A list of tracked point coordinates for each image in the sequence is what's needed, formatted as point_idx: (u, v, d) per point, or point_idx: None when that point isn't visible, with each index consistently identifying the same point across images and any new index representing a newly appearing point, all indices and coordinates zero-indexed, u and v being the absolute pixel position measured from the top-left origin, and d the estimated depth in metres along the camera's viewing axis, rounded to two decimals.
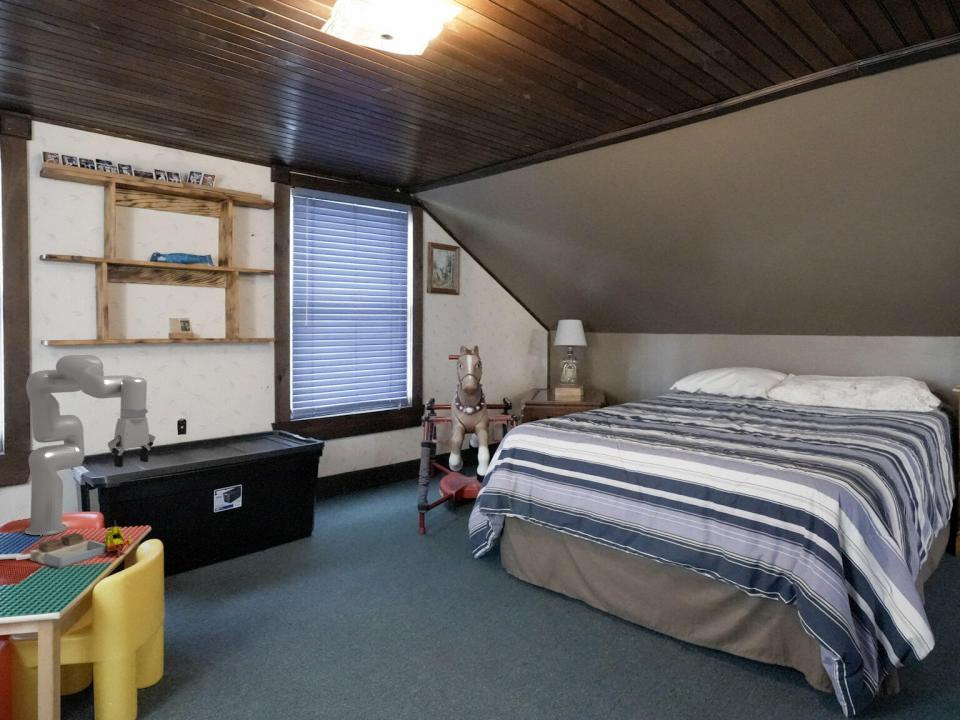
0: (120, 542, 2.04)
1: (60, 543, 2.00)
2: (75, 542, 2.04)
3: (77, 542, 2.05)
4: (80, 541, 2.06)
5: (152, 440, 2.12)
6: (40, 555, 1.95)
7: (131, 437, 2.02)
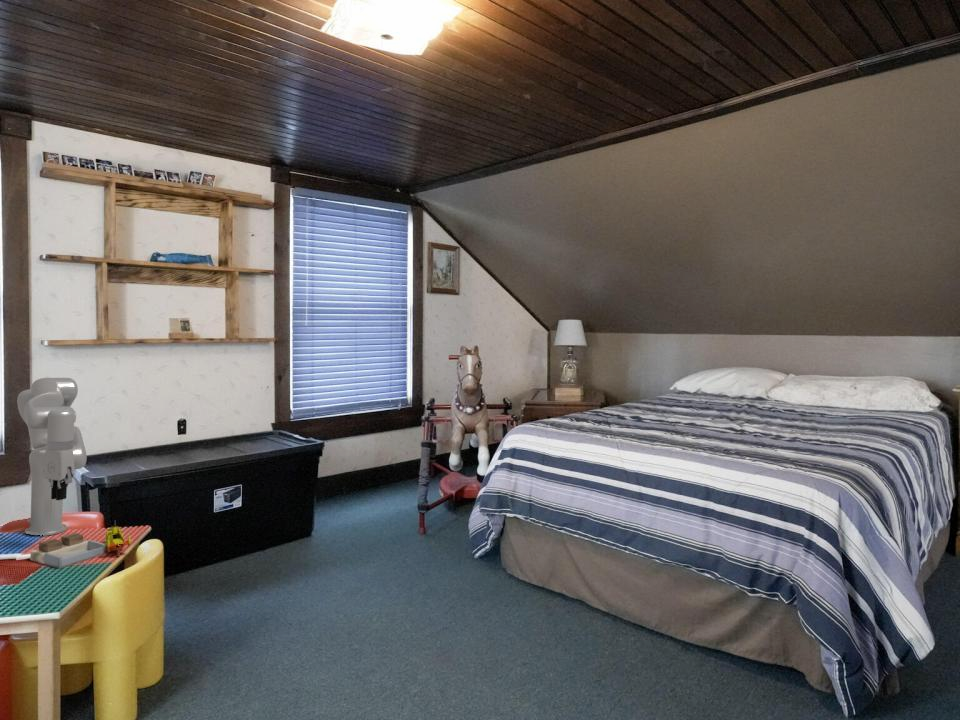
0: (120, 542, 2.04)
1: (60, 543, 2.00)
2: (75, 542, 2.04)
3: (77, 542, 2.05)
4: (80, 541, 2.06)
5: None
6: (40, 555, 1.95)
7: None
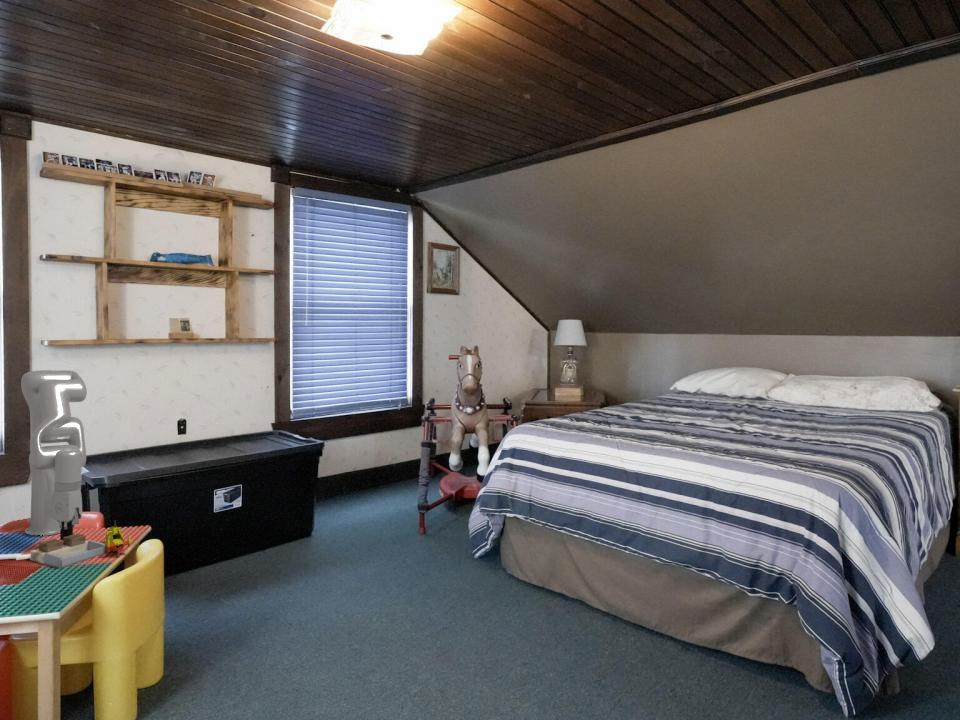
0: (120, 542, 2.04)
1: (60, 543, 2.00)
2: (77, 543, 2.04)
3: (79, 543, 2.05)
4: (82, 542, 2.05)
5: None
6: (40, 555, 1.95)
7: None
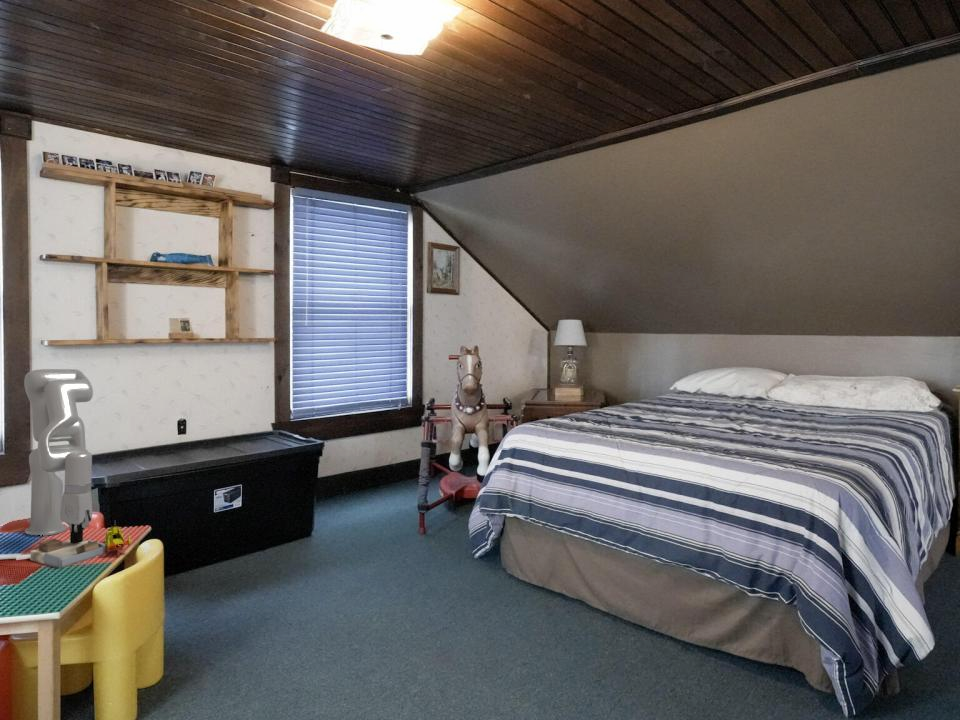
0: (120, 542, 2.04)
1: (60, 543, 2.00)
2: None
3: None
4: None
5: None
6: (40, 555, 1.95)
7: None
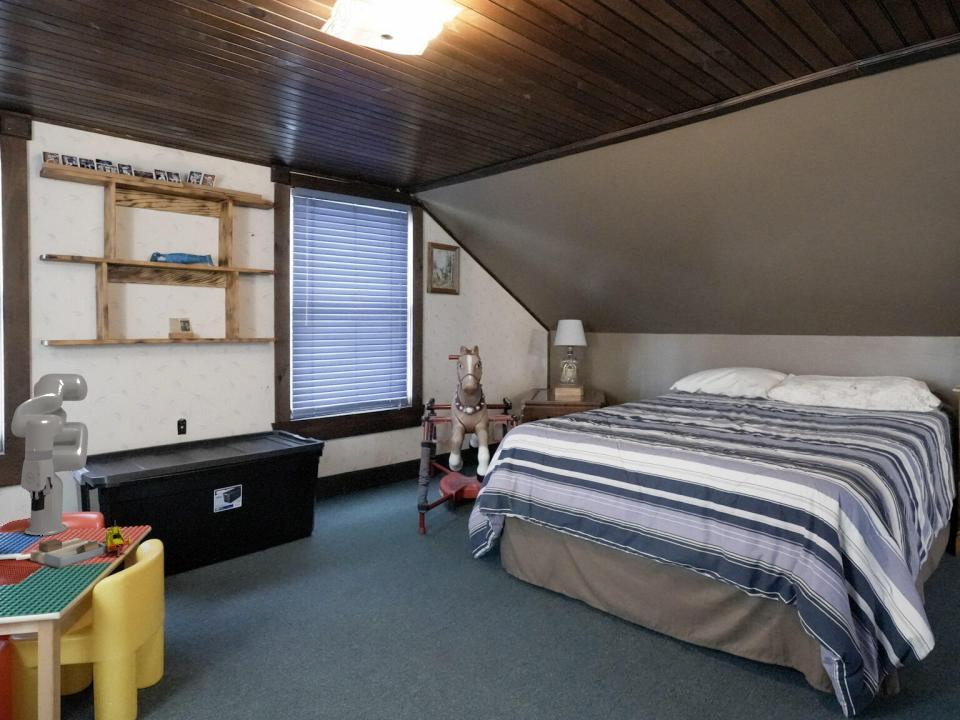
0: (120, 542, 2.04)
1: (60, 543, 2.00)
2: None
3: None
4: None
5: None
6: (40, 555, 1.95)
7: None
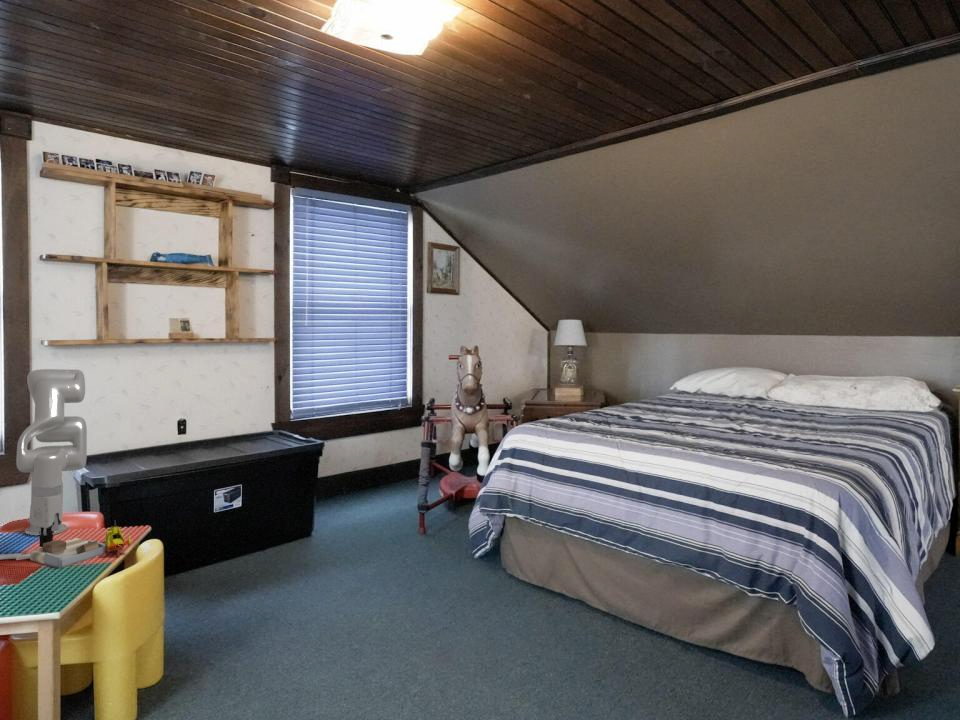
0: (120, 542, 2.04)
1: (64, 544, 1.99)
2: None
3: None
4: None
5: None
6: (40, 555, 1.95)
7: None
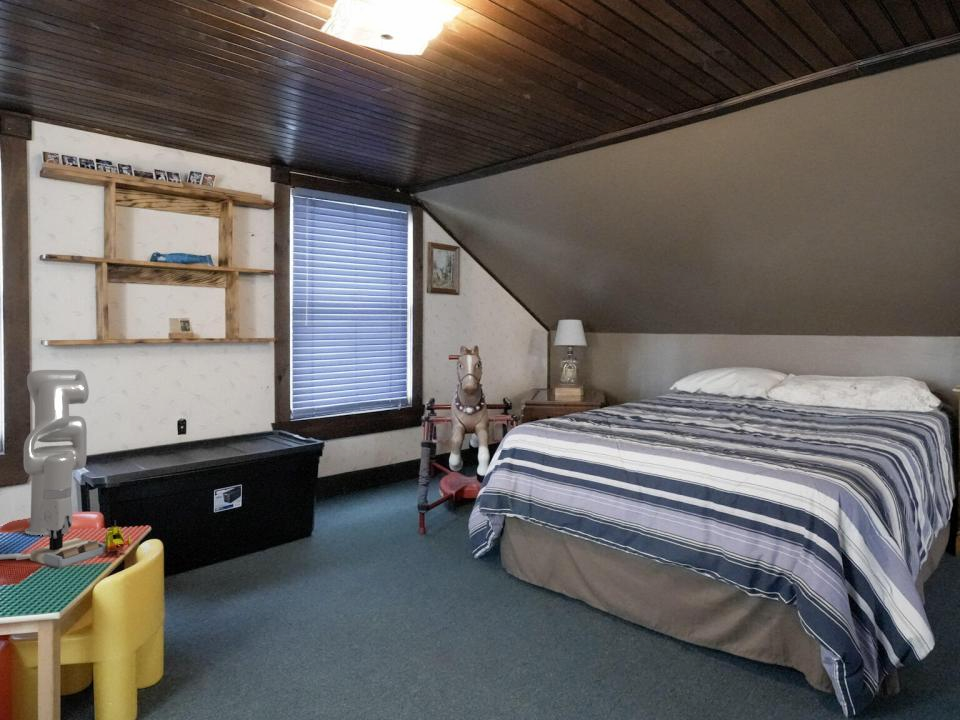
0: (120, 542, 2.04)
1: None
2: None
3: None
4: None
5: None
6: (40, 555, 1.95)
7: None
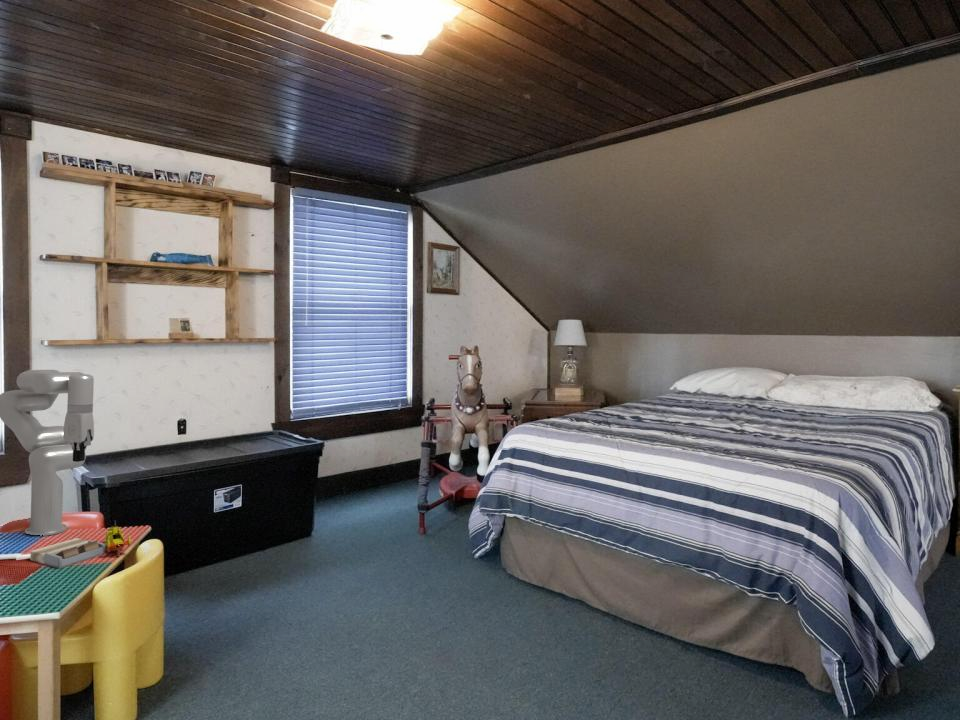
0: (120, 542, 2.04)
1: None
2: None
3: None
4: None
5: None
6: (40, 555, 1.95)
7: None
